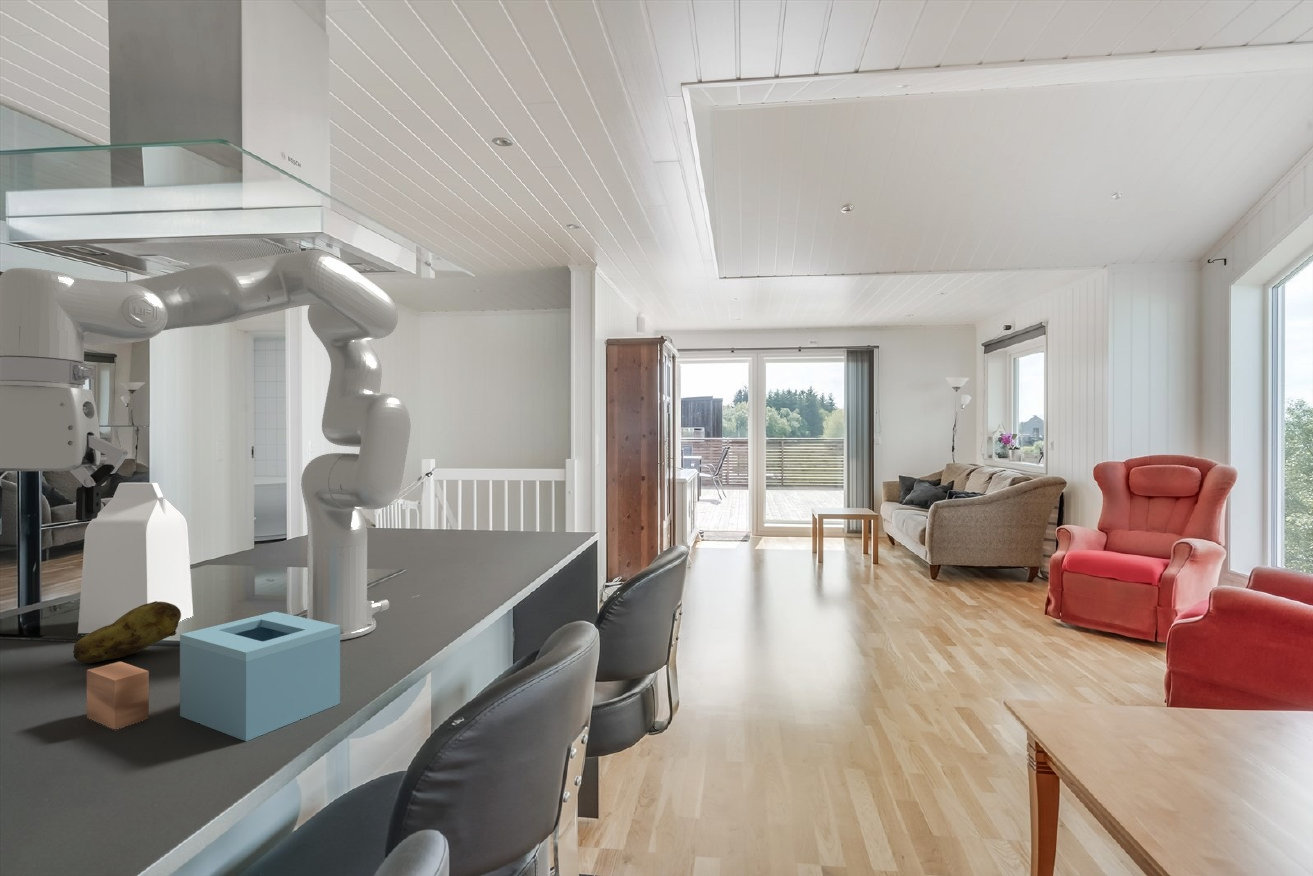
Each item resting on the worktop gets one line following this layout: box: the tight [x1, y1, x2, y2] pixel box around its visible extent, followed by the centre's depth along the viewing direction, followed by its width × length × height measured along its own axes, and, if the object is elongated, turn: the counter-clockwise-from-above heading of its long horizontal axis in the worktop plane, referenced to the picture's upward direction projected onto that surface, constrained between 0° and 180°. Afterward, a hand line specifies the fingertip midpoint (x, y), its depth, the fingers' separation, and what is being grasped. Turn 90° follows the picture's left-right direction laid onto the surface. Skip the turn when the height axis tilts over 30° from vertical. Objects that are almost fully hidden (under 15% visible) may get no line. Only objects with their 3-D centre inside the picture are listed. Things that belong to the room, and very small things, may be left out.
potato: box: [72, 601, 181, 664], centre depth 103 cm, size 8×13×8 cm, turn 120°
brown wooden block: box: [86, 661, 150, 730], centre depth 81 cm, size 4×7×6 cm, turn 62°
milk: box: [77, 482, 194, 634], centre depth 120 cm, size 12×12×26 cm
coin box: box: [179, 611, 341, 742], centre depth 84 cm, size 12×14×10 cm
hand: (38, 520), depth 78 cm, fingers open, 9 cm apart
